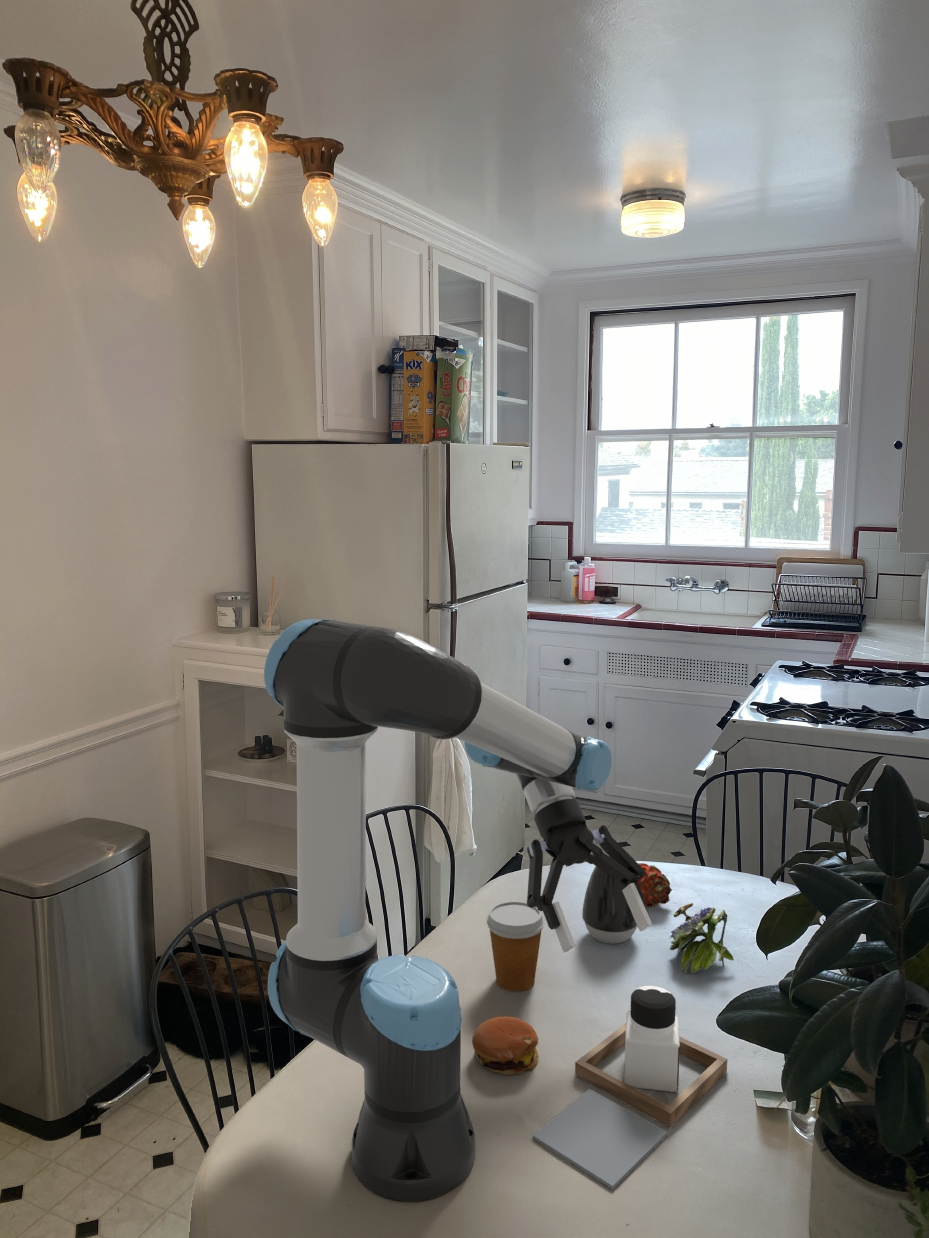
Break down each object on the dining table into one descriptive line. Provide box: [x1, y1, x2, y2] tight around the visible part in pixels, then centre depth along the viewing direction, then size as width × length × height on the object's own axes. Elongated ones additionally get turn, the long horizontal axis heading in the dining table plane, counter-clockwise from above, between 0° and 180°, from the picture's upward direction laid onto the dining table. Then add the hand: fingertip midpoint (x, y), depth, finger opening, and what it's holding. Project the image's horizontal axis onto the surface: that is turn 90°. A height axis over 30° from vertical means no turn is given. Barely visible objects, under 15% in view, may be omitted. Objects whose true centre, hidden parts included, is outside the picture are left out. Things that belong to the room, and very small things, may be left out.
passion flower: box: [668, 902, 734, 974], centre depth 155 cm, size 11×11×12 cm
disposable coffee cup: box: [485, 900, 546, 992], centre depth 148 cm, size 10×10×12 cm
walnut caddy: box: [574, 1022, 728, 1128], centre depth 126 cm, size 15×15×2 cm
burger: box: [471, 1016, 539, 1076], centre depth 129 cm, size 10×9×5 cm
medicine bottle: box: [623, 985, 680, 1093], centre depth 125 cm, size 7×7×12 cm
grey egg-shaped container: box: [581, 855, 638, 945], centre depth 162 cm, size 10×10×15 cm
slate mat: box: [532, 1088, 668, 1190], centre depth 114 cm, size 12×12×1 cm
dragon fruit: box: [637, 862, 673, 908], centre depth 176 cm, size 8×8×12 cm
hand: (608, 938), depth 133 cm, fingers open, 13 cm apart
